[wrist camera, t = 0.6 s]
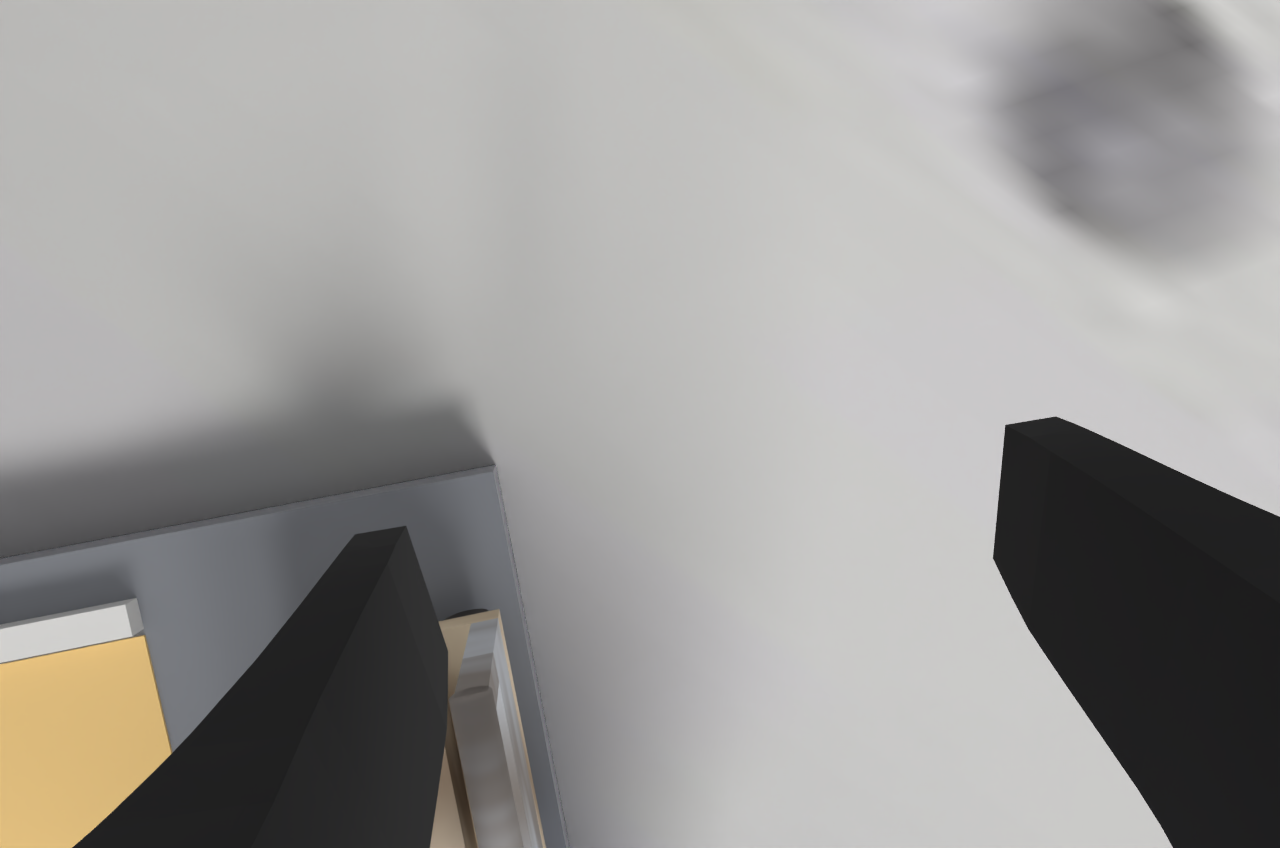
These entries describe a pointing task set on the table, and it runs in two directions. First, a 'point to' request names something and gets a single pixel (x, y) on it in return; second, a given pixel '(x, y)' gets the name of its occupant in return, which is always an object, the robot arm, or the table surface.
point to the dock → (213, 637)
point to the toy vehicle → (483, 744)
